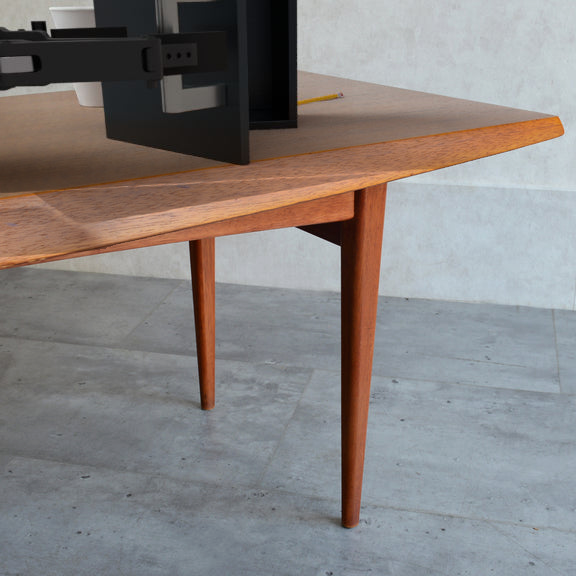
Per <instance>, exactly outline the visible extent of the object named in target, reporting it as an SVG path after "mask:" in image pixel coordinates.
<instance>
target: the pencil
mask: <svg viewBox="0 0 576 576" xmlns="http://www.w3.org/2000/svg"><path fill="white" fill-rule="evenodd" d="M341 96H343V97H344V94H343V93H342V92H337V93H332V94H327V95H322V96H316V97H311V98H306V99H301V100H297V106H300V105H306V104H310V103H316V102H323V101H322V100H326V101H328V100H327V99H330V100H333V99H332V98H335V99H337V98H336V97H340V98H342V97H341Z"/></svg>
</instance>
